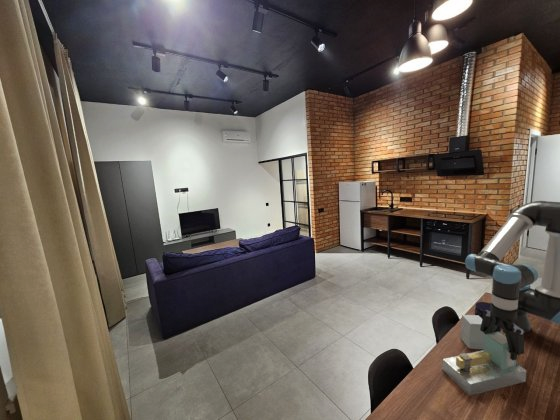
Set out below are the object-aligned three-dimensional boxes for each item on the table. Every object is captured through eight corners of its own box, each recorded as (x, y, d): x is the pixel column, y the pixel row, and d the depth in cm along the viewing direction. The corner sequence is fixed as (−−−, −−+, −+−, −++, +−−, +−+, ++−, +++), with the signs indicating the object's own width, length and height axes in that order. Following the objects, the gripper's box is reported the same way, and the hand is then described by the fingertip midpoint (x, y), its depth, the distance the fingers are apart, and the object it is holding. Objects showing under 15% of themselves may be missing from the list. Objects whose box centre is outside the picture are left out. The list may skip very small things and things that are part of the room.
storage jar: (485, 343, 111) (487, 314, 109) (468, 329, 121) (469, 302, 118) (505, 341, 111) (508, 312, 109) (487, 327, 121) (489, 301, 119)
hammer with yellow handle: (454, 366, 94) (455, 354, 93) (484, 360, 96) (484, 348, 95) (461, 372, 91) (462, 360, 90) (492, 366, 93) (493, 354, 92)
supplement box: (487, 350, 107) (489, 325, 105) (468, 348, 109) (470, 324, 107) (477, 338, 114) (479, 315, 112) (459, 337, 116) (461, 314, 114)
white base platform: (492, 358, 103) (493, 345, 102) (525, 381, 91) (526, 368, 90) (442, 369, 99) (443, 356, 98) (469, 395, 87) (470, 381, 86)
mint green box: (496, 352, 99) (498, 331, 98) (515, 366, 93) (518, 342, 91) (482, 355, 98) (484, 334, 97) (500, 369, 91) (503, 346, 90)
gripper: (544, 319, 82) (537, 376, 86) (486, 291, 102) (482, 338, 105) (526, 323, 81) (519, 380, 85) (471, 294, 100) (467, 342, 104)
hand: (499, 357), depth 95 cm, fingers closed on mint green box, 7 cm apart
